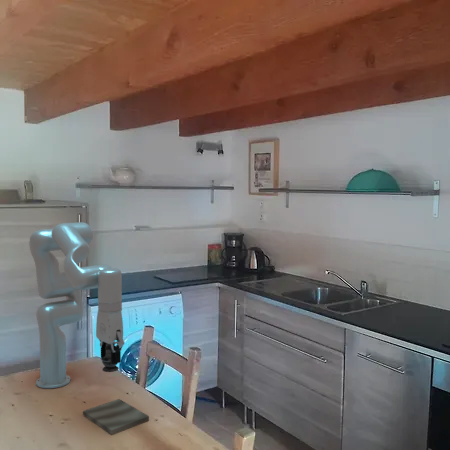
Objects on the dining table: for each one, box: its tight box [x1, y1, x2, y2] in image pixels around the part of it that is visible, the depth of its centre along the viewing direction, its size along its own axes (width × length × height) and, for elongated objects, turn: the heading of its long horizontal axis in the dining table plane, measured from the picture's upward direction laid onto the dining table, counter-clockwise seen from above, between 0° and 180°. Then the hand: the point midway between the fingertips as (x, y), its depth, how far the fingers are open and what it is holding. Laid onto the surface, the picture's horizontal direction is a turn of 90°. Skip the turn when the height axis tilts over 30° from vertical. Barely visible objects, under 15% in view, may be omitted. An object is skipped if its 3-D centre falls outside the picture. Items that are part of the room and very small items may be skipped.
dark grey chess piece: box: [100, 343, 119, 373], centre depth 163 cm, size 6×6×12 cm
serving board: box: [82, 398, 150, 436], centre depth 165 cm, size 18×14×2 cm
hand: (110, 360), depth 163 cm, fingers closed on dark grey chess piece, 5 cm apart
